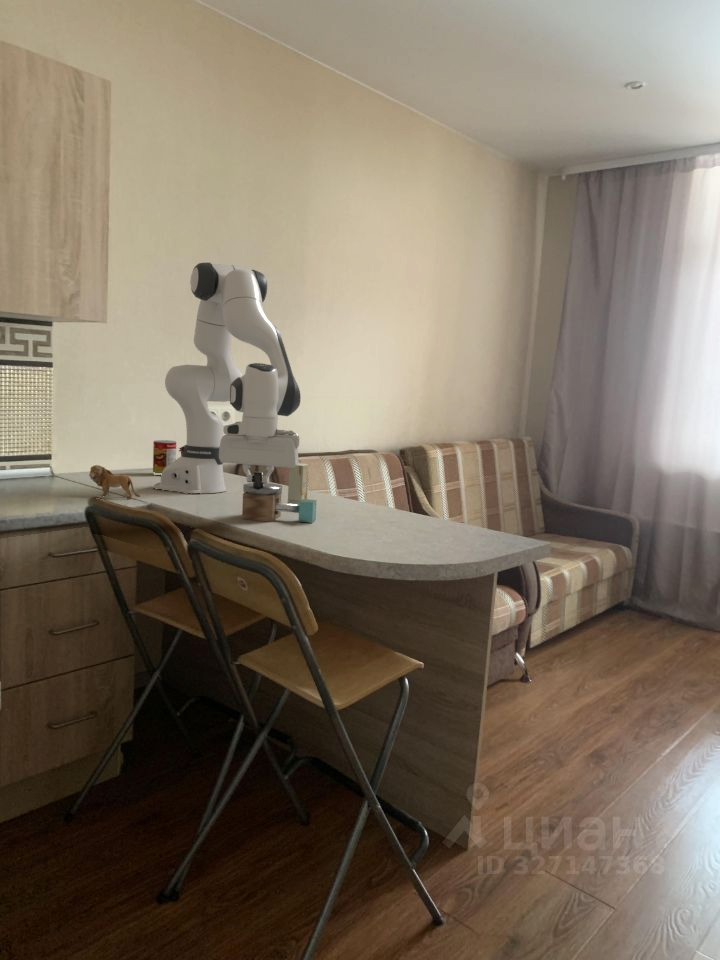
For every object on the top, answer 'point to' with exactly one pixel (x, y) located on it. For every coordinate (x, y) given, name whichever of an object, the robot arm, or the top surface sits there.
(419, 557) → the top surface
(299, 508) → the teal and grey bar
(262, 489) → the handwheel
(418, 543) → the top surface
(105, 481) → the lion figurine
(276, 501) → the block
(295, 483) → the skincare box
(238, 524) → the top surface
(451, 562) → the top surface
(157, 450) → the canned food
